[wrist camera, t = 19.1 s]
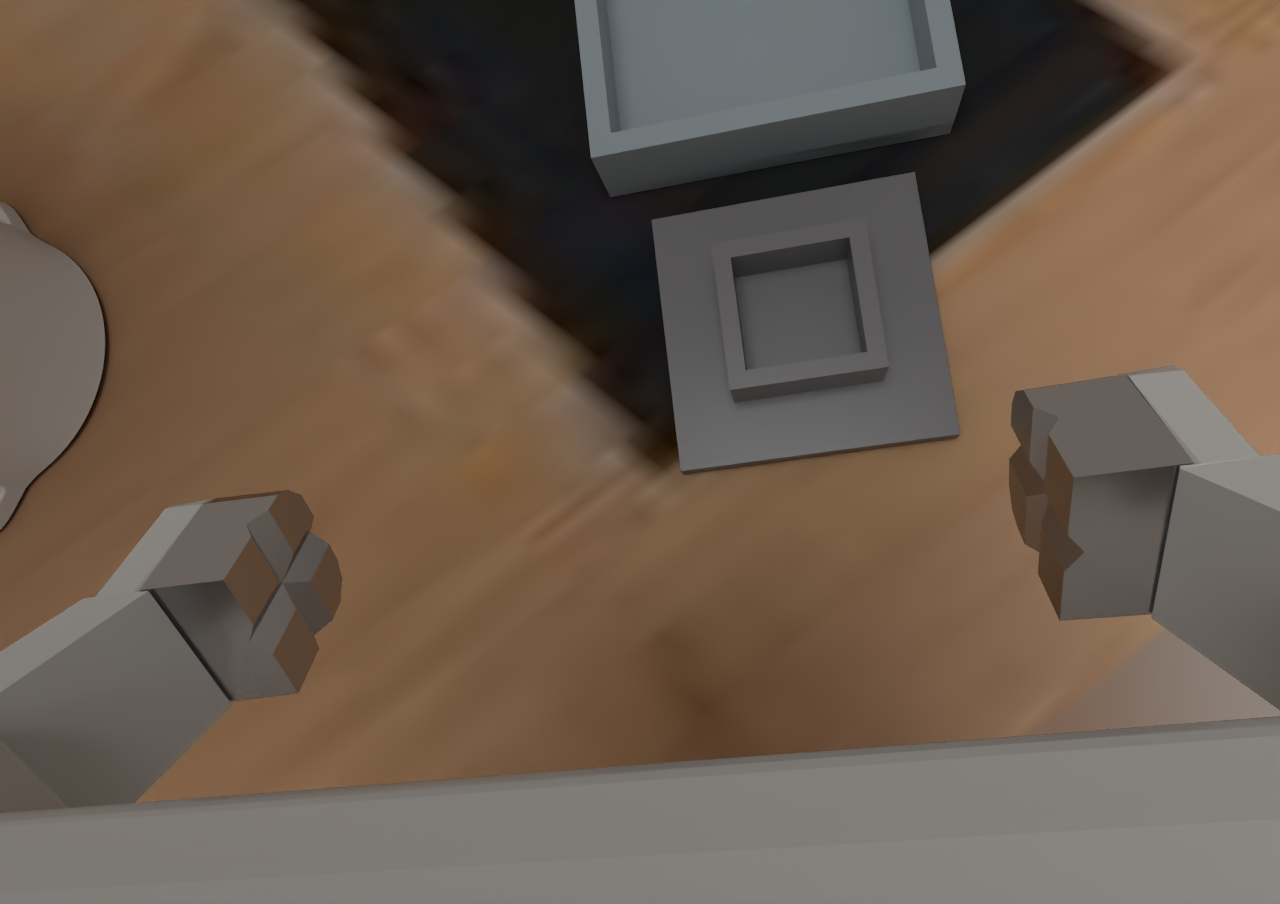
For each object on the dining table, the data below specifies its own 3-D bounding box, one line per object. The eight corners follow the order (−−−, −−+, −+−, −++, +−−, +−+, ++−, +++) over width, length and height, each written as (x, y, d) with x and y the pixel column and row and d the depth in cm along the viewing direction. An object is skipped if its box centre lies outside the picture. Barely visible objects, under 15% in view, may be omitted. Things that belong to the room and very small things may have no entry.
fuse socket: (683, 474, 40) (672, 463, 36) (655, 228, 42) (641, 196, 38) (956, 438, 38) (971, 423, 34) (911, 182, 40) (922, 144, 36)
